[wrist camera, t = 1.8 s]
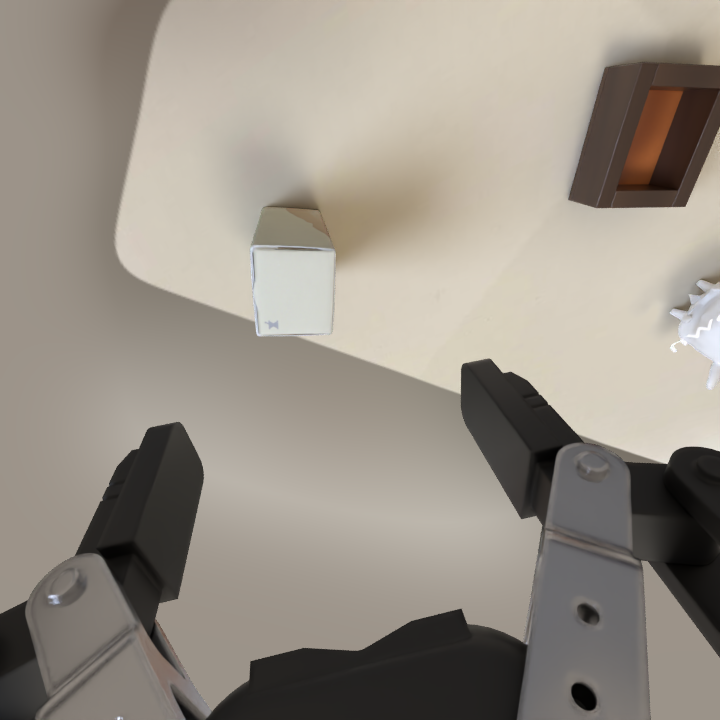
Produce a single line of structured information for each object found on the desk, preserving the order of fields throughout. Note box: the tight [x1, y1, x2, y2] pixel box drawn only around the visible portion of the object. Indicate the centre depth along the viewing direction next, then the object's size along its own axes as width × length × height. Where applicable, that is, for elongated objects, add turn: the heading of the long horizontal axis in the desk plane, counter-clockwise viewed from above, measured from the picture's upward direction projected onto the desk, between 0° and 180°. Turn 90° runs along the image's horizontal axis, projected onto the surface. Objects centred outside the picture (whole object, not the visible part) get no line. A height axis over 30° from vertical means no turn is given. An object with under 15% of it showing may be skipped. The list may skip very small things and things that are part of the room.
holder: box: [569, 62, 720, 208], centre depth 29 cm, size 8×9×3 cm
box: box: [250, 207, 336, 336], centre depth 25 cm, size 5×4×11 cm
